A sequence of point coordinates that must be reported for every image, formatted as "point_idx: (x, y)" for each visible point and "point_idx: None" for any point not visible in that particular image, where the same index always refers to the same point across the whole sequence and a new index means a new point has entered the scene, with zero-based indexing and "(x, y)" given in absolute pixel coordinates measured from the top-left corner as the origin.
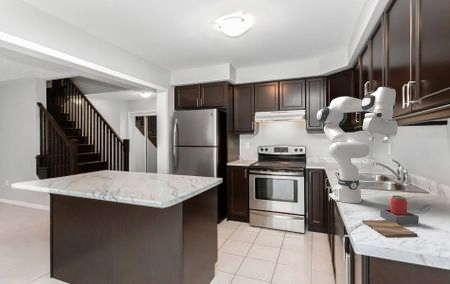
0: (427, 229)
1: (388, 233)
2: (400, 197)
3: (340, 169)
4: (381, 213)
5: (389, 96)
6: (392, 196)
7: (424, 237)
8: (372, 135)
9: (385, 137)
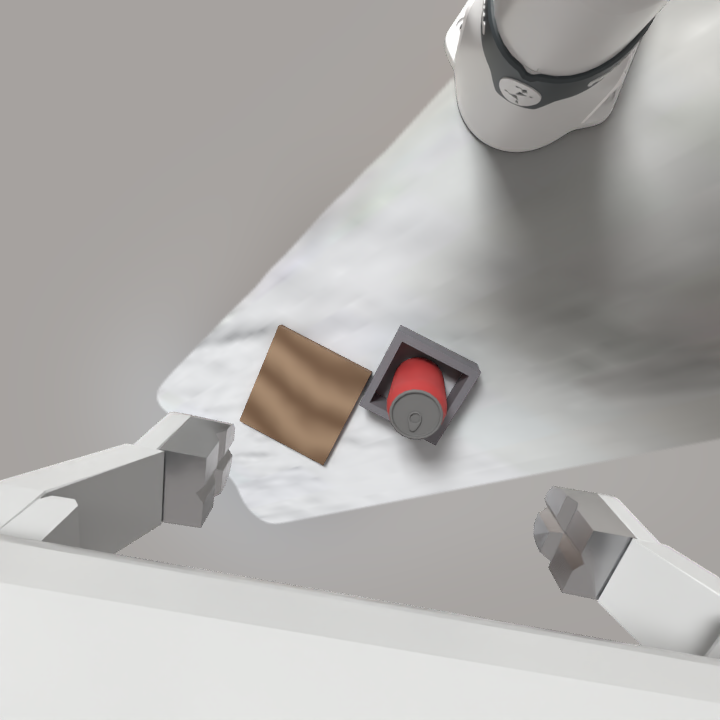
0: (410, 460)
1: (254, 422)
2: (420, 419)
3: None
4: (396, 333)
5: None
6: (400, 395)
7: (335, 473)
8: (106, 550)
9: (713, 605)
